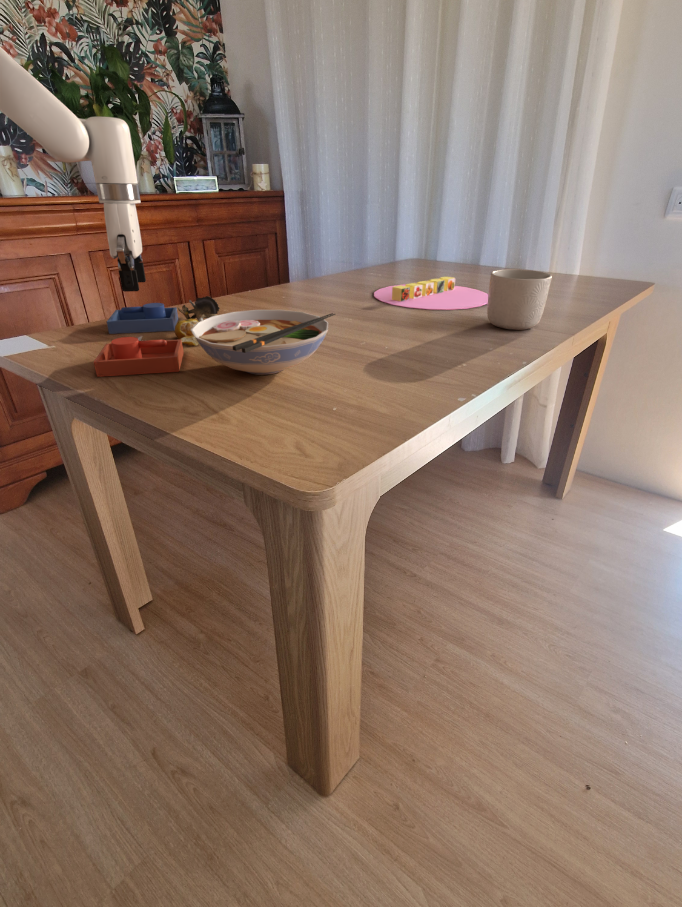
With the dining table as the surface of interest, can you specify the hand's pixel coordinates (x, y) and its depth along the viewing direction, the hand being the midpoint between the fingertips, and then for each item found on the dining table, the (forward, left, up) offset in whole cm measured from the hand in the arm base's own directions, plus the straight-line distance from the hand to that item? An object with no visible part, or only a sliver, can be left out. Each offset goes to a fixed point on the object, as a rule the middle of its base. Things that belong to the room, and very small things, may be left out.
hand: (134, 286), depth 104 cm
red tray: (+3, -25, -9) cm, 26 cm away
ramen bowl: (+24, -31, -9) cm, 40 cm away
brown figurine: (+13, -1, -9) cm, 16 cm away
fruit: (+11, -12, -9) cm, 18 cm away
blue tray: (0, +1, -9) cm, 9 cm away
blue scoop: (0, +2, -8) cm, 8 cm away
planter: (+80, -14, -9) cm, 82 cm away
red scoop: (+4, -25, -8) cm, 26 cm away
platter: (+73, +18, -9) cm, 76 cm away
